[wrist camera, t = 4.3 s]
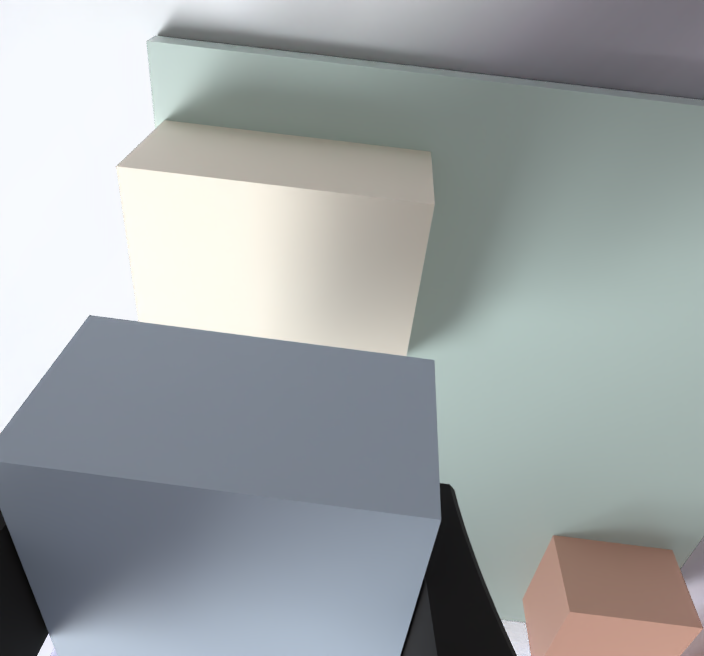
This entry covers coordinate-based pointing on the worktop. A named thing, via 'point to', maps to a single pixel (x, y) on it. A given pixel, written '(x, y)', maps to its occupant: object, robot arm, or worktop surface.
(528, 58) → the worktop surface
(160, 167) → the brick
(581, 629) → the brick
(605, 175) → the baseplate
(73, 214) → the worktop surface
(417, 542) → the brick
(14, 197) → the worktop surface
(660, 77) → the worktop surface
